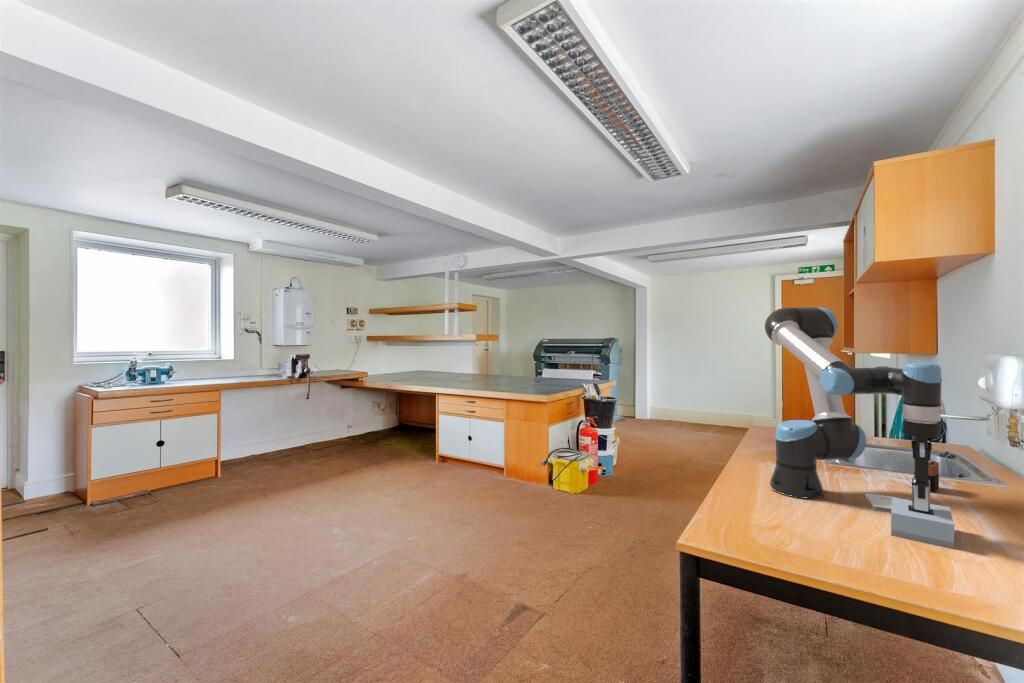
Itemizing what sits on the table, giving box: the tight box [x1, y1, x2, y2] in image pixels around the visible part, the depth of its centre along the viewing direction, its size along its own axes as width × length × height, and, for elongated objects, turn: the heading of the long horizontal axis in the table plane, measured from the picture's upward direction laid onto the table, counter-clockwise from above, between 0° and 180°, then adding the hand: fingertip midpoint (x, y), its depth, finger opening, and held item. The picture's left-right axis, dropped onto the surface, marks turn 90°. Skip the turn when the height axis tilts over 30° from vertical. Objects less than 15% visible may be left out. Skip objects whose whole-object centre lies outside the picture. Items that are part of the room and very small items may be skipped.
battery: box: [928, 458, 940, 493], centre depth 152 cm, size 4×7×10 cm, turn 127°
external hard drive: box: [864, 493, 898, 513], centre depth 140 cm, size 2×8×12 cm
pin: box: [911, 477, 931, 515], centre depth 121 cm, size 4×4×12 cm
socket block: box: [890, 496, 955, 549], centre depth 122 cm, size 12×14×6 cm
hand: (920, 507), depth 121 cm, fingers closed on pin, 3 cm apart
